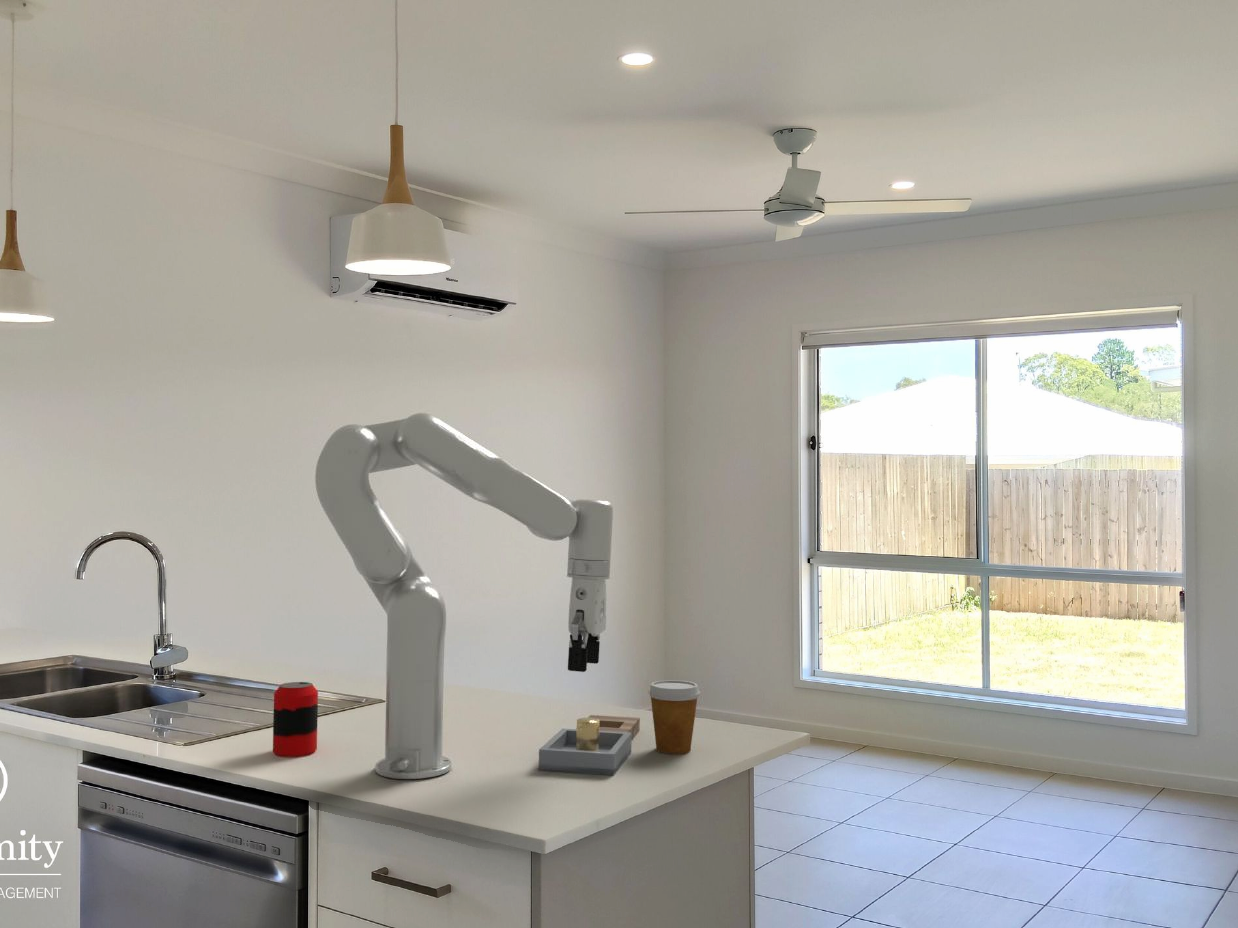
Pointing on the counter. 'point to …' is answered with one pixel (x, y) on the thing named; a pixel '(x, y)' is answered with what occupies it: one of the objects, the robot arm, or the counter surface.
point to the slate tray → (585, 753)
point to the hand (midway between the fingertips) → (583, 666)
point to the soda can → (295, 719)
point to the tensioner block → (618, 724)
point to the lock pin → (587, 734)
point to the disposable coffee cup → (673, 714)
